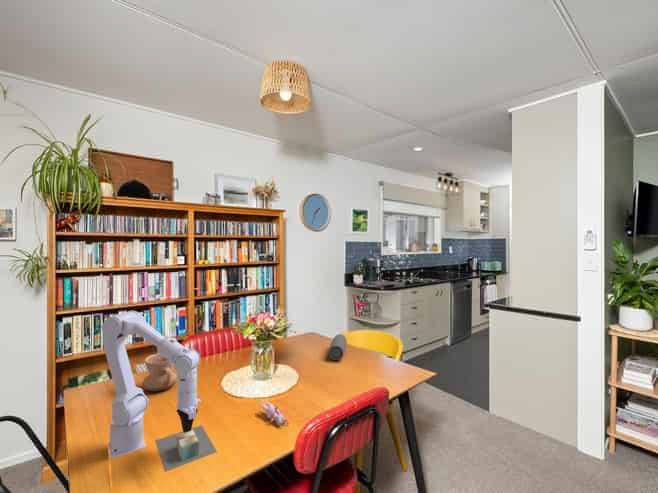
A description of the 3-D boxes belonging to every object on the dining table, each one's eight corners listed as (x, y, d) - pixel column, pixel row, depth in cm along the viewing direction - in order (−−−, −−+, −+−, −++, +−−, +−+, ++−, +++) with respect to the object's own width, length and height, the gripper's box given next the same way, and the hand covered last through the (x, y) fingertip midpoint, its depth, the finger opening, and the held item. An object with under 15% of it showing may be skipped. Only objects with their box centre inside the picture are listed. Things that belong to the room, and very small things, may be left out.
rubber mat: (165, 473, 91) (165, 471, 91) (155, 441, 106) (155, 440, 106) (217, 453, 100) (217, 451, 100) (201, 426, 115) (201, 425, 115)
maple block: (176, 447, 102) (182, 460, 96) (176, 435, 102) (182, 448, 96) (192, 441, 105) (199, 454, 99) (192, 429, 105) (199, 441, 99)
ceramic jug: (136, 386, 146) (136, 356, 145) (168, 376, 157) (168, 348, 156) (151, 400, 134) (151, 367, 133) (185, 388, 145) (185, 358, 144)
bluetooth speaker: (332, 348, 202) (333, 332, 202) (347, 349, 201) (347, 333, 201) (327, 361, 180) (328, 344, 179) (344, 362, 178) (344, 345, 178)
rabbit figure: (291, 427, 118) (269, 405, 128) (293, 412, 117) (271, 392, 127) (277, 433, 113) (256, 411, 124) (279, 418, 112) (257, 397, 123)
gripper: (206, 394, 98) (206, 437, 98) (194, 378, 109) (194, 416, 110) (182, 401, 94) (181, 446, 94) (172, 383, 105) (172, 423, 105)
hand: (187, 431), depth 101 cm, fingers closed
